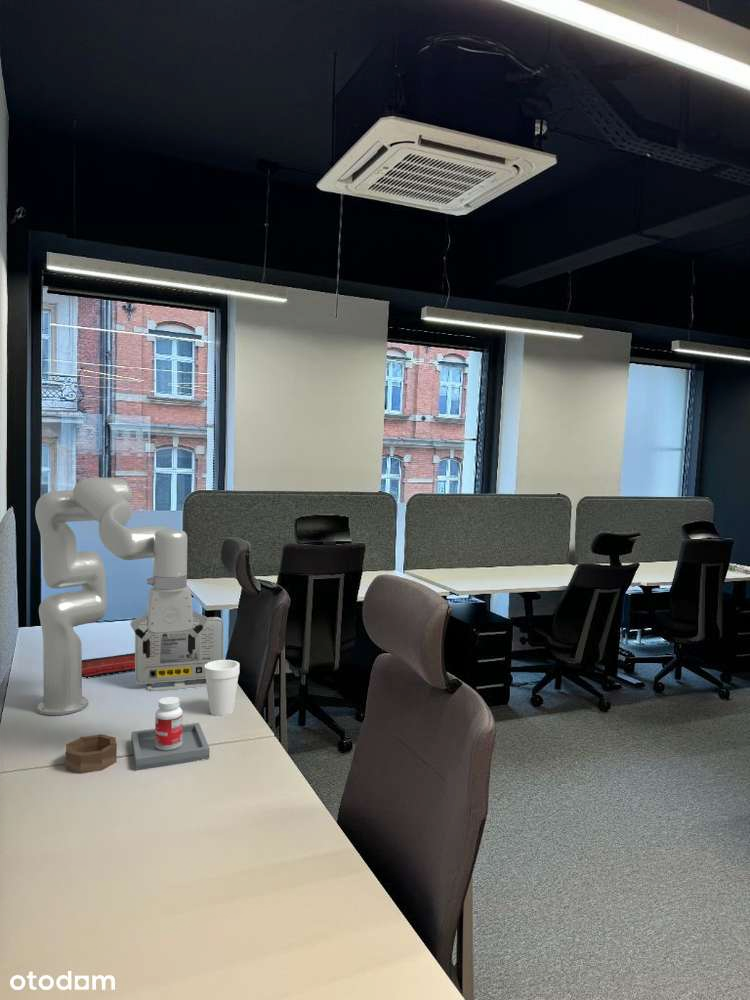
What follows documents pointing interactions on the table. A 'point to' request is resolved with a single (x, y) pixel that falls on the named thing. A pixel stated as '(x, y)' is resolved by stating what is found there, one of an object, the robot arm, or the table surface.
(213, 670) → the foam cup
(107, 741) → the holder ring
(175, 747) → the pill bottle
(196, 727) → the tray
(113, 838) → the table surface
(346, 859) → the table surface
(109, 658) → the binder
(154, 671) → the network device
